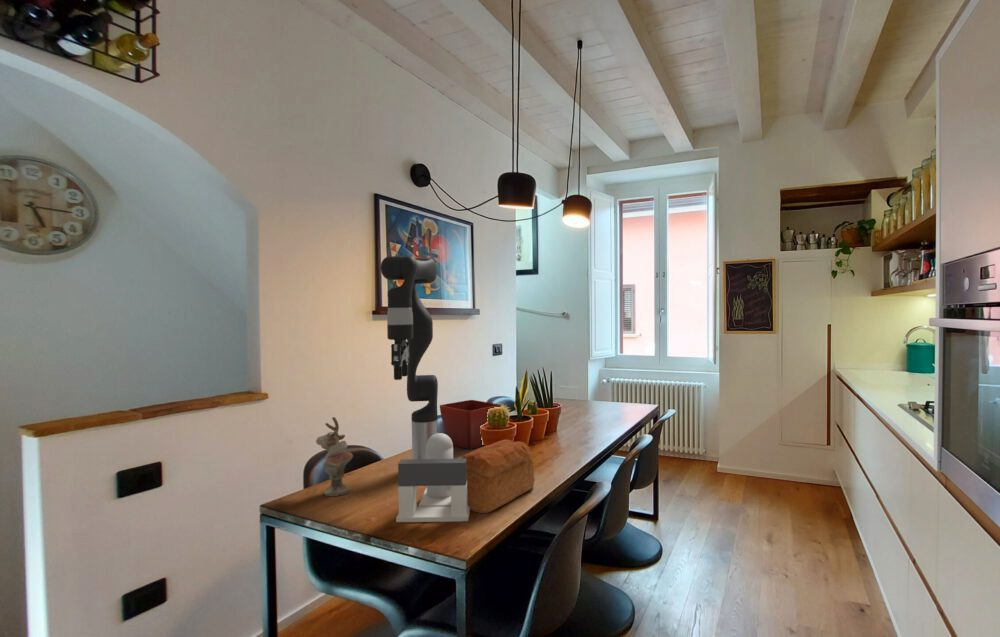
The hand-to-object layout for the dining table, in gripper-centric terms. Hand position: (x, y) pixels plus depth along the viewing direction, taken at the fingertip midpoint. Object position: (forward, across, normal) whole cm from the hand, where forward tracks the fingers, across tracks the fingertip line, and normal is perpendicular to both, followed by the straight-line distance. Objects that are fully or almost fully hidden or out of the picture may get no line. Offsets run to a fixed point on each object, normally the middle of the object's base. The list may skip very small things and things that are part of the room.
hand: (401, 377), depth 147 cm
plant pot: (+36, +62, -16) cm, 74 cm away
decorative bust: (+36, +8, +23) cm, 44 cm away
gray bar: (+27, -13, -11) cm, 32 cm away
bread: (+36, +2, -28) cm, 46 cm away
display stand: (+36, -5, -11) cm, 38 cm away
